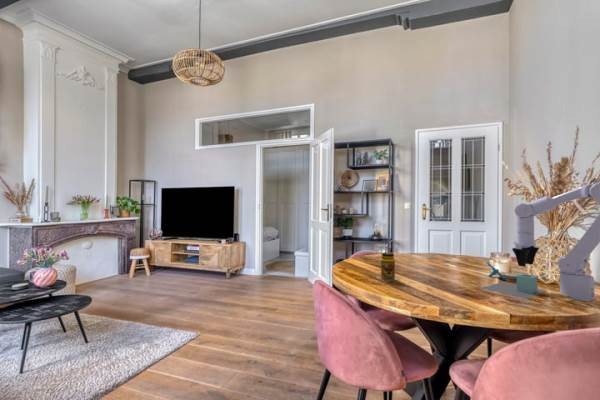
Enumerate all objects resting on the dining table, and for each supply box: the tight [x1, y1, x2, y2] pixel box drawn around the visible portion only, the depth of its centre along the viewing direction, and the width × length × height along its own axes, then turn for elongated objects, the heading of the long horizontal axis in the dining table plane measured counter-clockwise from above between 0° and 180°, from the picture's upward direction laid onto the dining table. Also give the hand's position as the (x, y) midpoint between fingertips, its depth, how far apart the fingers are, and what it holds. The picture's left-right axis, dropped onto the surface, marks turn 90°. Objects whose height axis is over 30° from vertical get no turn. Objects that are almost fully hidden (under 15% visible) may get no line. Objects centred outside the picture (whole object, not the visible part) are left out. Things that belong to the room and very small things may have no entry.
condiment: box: [374, 252, 400, 282], centre depth 142 cm, size 7×8×12 cm
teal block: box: [516, 273, 538, 294], centre depth 118 cm, size 5×5×6 cm
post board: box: [480, 281, 546, 300], centre depth 121 cm, size 16×18×5 cm
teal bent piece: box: [486, 262, 506, 280], centre depth 142 cm, size 11×6×10 cm
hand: (525, 265), depth 127 cm, fingers open, 7 cm apart
